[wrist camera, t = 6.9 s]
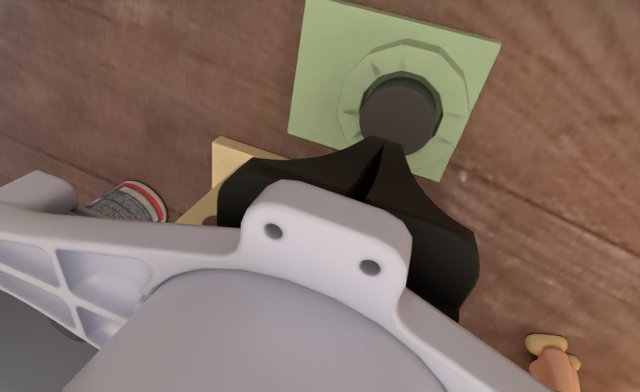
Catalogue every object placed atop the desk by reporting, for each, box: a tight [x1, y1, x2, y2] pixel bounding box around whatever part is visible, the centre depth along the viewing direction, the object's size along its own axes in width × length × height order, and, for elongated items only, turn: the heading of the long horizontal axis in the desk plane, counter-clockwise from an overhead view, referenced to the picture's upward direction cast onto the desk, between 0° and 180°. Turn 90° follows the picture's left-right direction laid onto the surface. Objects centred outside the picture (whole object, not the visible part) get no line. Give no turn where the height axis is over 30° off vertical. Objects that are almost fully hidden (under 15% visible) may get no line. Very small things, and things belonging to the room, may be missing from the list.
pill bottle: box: [84, 181, 166, 222], centre depth 30 cm, size 5×5×9 cm
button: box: [359, 77, 437, 156], centre depth 18 cm, size 4×4×2 cm
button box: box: [287, 0, 502, 182], centre depth 20 cm, size 10×8×3 cm
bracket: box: [175, 136, 291, 226], centre depth 24 cm, size 9×7×10 cm
